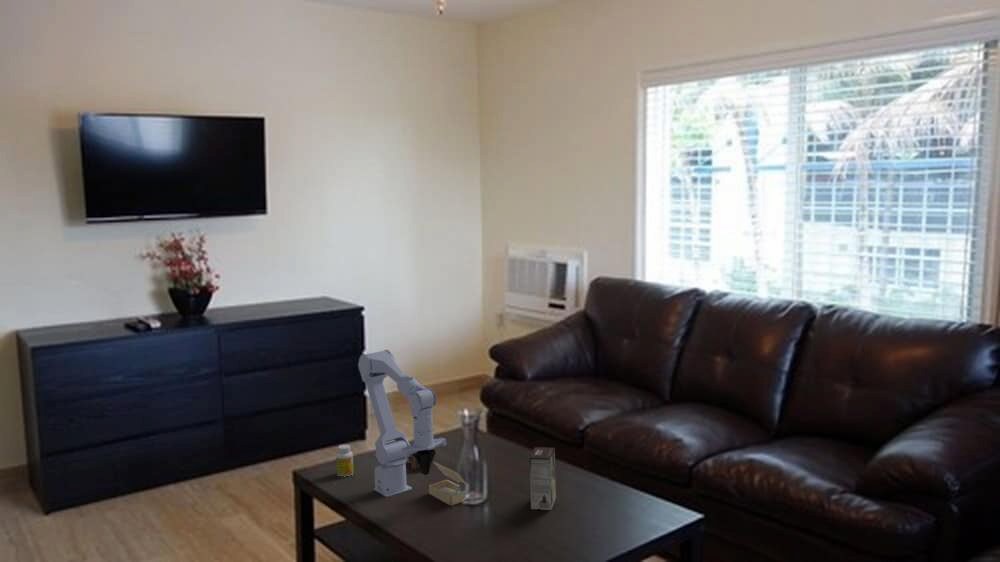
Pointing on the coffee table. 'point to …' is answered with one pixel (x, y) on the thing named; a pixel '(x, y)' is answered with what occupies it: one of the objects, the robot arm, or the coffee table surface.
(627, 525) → the coffee table surface
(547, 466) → the coffee box
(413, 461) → the pottery mug
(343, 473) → the supplement bottle
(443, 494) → the mailer box
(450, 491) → the soap
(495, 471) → the coffee table surface
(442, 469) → the lid
